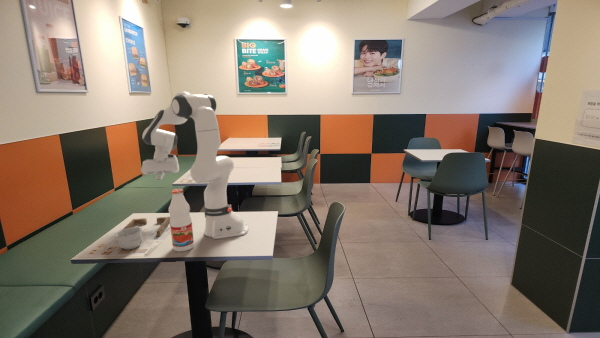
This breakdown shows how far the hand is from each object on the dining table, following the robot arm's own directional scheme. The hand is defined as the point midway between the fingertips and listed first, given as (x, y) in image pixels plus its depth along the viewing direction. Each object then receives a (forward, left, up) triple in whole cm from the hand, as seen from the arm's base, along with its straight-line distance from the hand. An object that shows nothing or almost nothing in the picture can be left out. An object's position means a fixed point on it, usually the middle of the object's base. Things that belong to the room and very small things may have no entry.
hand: (158, 179), depth 185 cm
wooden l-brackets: (+5, +14, -24) cm, 28 cm away
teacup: (+5, +32, -24) cm, 41 cm away
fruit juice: (-20, +39, -24) cm, 50 cm away
